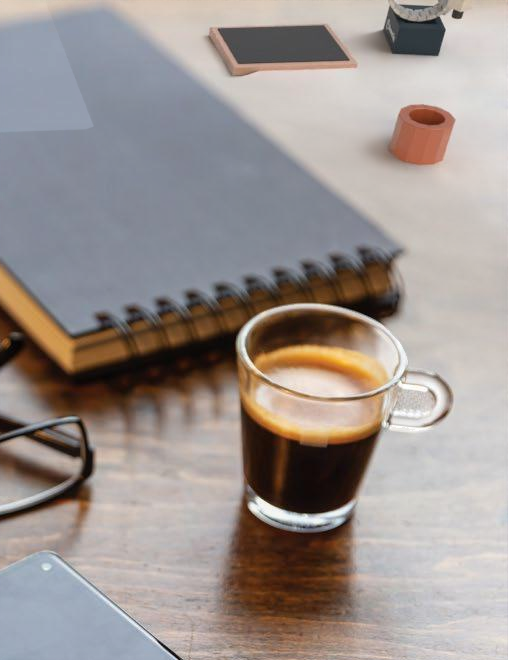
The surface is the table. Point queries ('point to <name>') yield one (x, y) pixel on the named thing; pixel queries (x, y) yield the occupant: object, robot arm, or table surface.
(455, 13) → the stylus
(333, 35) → the tablet
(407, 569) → the table surface
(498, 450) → the table surface
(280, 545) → the table surface
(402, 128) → the pen holder
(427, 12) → the watch
